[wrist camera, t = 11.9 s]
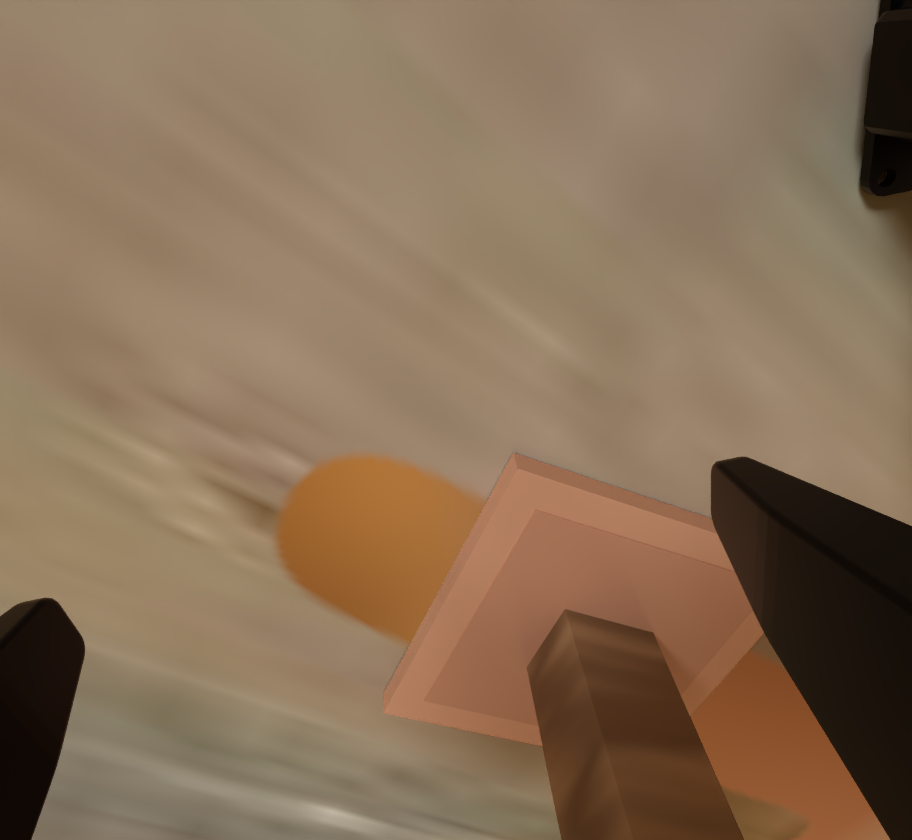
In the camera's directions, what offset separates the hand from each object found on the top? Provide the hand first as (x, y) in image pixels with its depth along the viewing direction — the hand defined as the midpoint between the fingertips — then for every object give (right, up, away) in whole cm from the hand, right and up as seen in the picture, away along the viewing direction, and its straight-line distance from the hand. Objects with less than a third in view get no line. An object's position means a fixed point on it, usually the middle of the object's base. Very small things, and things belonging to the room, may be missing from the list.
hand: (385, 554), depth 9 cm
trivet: (+6, -7, +18) cm, 20 cm away
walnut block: (+6, -7, +17) cm, 20 cm away
